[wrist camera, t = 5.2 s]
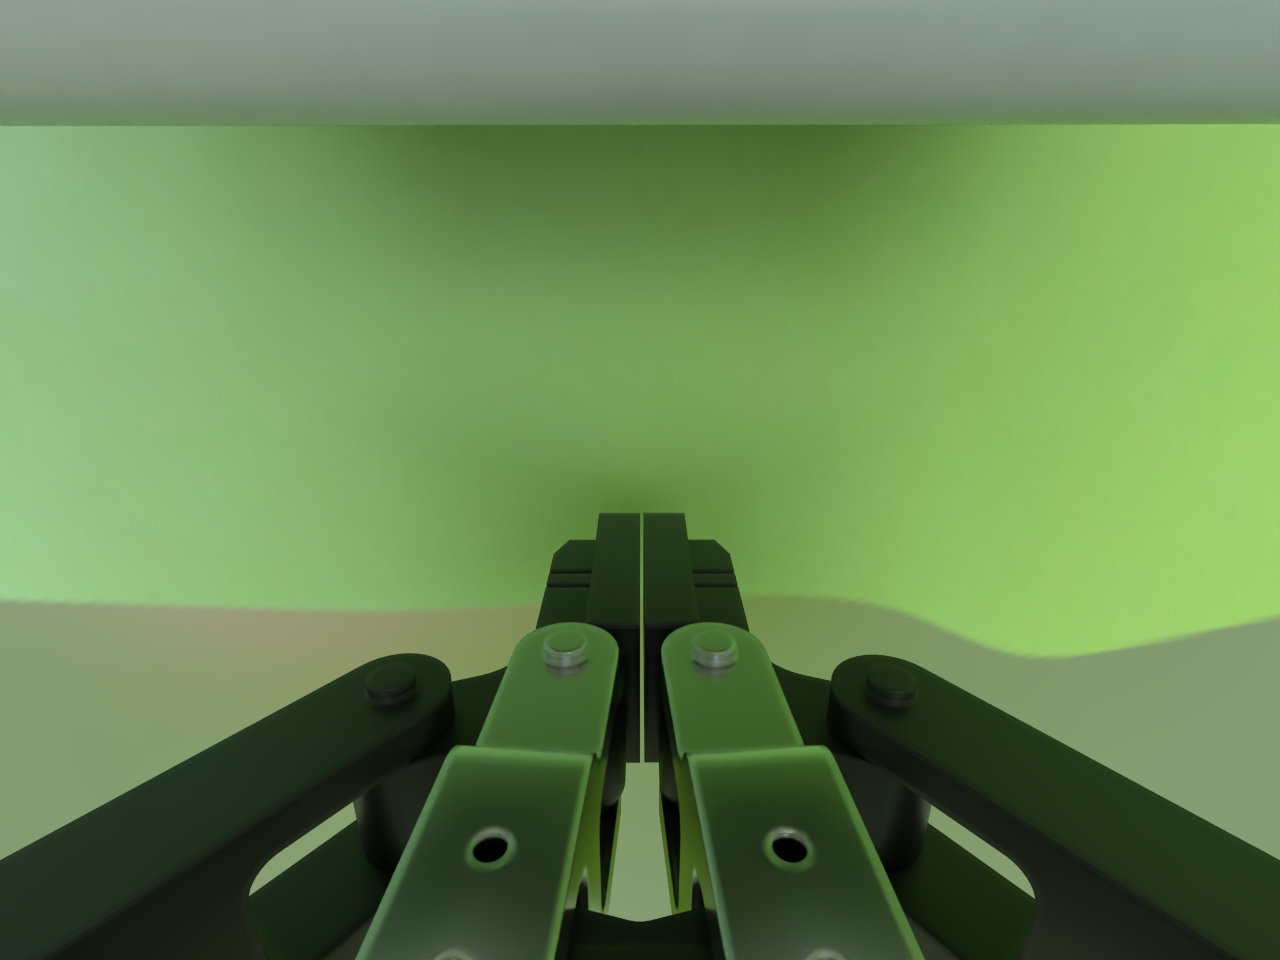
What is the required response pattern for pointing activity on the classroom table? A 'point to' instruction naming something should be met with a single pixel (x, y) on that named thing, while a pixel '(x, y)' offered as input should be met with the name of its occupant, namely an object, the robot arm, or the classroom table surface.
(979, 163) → the classroom table surface
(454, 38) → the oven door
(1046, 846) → the robot arm
